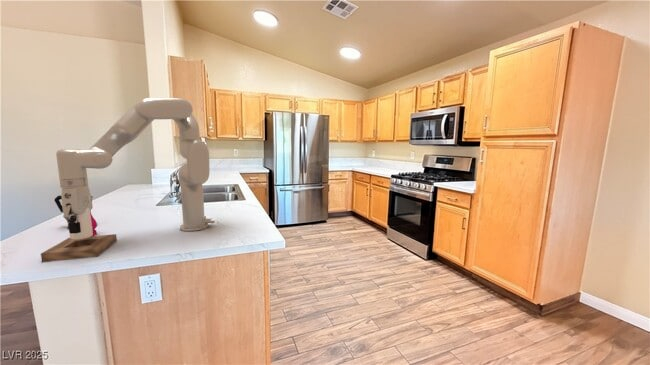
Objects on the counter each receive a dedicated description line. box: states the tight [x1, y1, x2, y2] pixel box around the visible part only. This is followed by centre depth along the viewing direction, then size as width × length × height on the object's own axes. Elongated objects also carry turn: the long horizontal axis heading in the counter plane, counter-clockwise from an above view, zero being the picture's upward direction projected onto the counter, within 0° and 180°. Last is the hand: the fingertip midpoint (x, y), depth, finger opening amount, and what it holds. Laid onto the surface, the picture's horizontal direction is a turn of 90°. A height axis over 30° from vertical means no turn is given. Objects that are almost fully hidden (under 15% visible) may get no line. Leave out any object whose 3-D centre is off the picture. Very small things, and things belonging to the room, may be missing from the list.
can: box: [68, 206, 93, 240], centre depth 101 cm, size 6×6×12 cm
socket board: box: [40, 233, 118, 263], centre depth 102 cm, size 16×16×3 cm
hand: (80, 229), depth 101 cm, fingers closed on can, 5 cm apart
